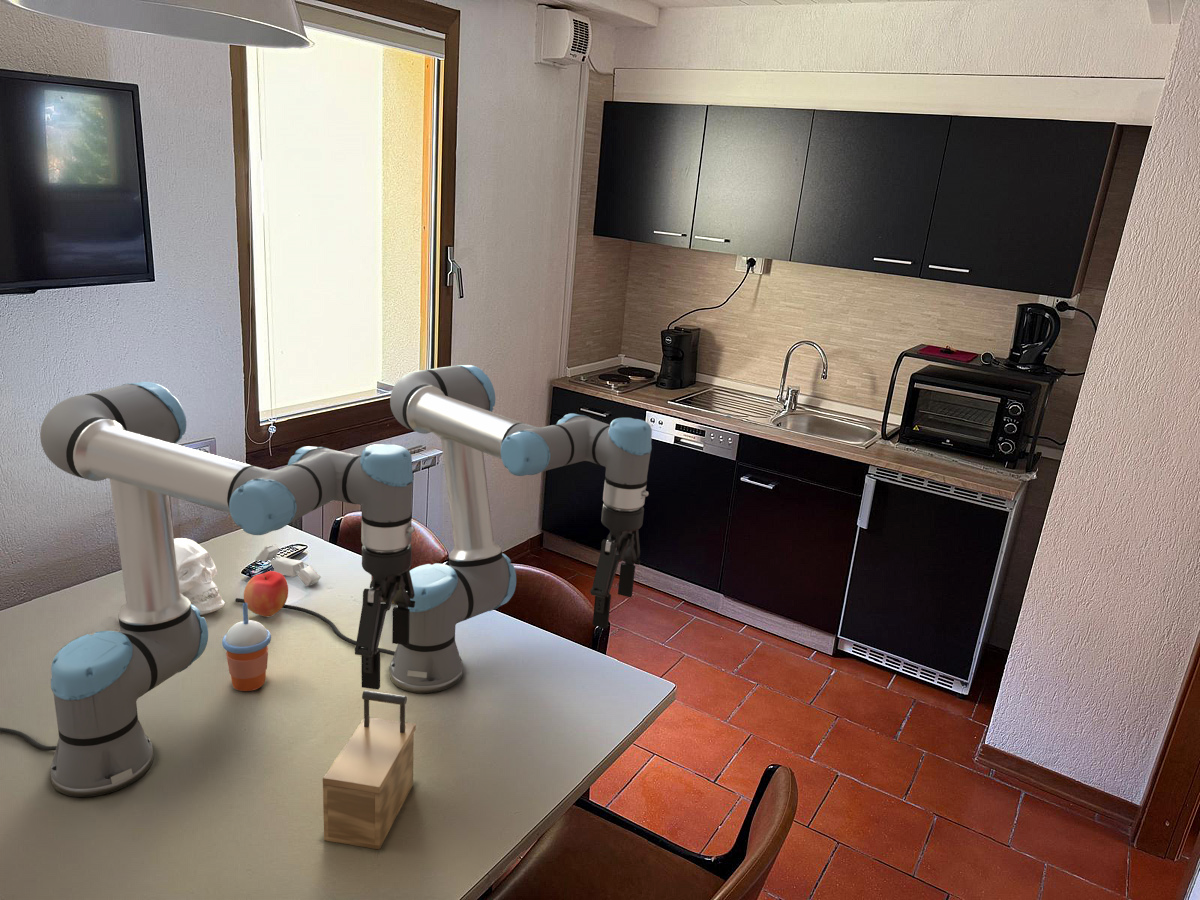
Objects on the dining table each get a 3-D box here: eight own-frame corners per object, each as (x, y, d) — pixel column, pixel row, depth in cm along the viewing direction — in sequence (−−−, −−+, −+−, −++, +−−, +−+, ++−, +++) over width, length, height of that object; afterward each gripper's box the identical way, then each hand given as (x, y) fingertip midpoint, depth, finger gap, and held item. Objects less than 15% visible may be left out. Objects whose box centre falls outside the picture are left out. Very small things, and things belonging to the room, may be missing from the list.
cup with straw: (256, 699, 169) (252, 618, 164) (214, 691, 170) (209, 610, 165) (281, 675, 177) (278, 597, 172) (242, 667, 179) (238, 590, 174)
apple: (273, 600, 207) (272, 562, 204) (297, 613, 202) (296, 575, 199) (237, 614, 200) (234, 575, 197) (261, 628, 194) (259, 588, 191)
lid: (364, 721, 148) (364, 681, 146) (415, 729, 147) (416, 689, 145) (322, 784, 132) (321, 740, 130) (379, 793, 131) (379, 749, 129)
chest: (362, 776, 150) (362, 725, 147) (413, 784, 149) (413, 733, 146) (323, 840, 135) (322, 784, 132) (379, 849, 134) (379, 793, 131)
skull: (204, 625, 194) (201, 560, 189) (125, 605, 199) (121, 542, 195) (243, 602, 206) (242, 541, 202) (168, 584, 212) (165, 524, 207)
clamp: (253, 565, 223) (254, 542, 221) (265, 560, 226) (266, 537, 224) (309, 593, 215) (310, 569, 213) (320, 588, 218) (321, 564, 216)
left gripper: (381, 581, 120) (381, 711, 126) (434, 517, 144) (432, 629, 150) (330, 575, 121) (332, 704, 127) (391, 512, 145) (391, 624, 151)
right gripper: (620, 532, 141) (608, 645, 147) (663, 488, 163) (651, 587, 170) (578, 523, 143) (568, 634, 150) (626, 480, 166) (616, 579, 172)
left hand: (386, 664), depth 139 cm, fingers open, 13 cm apart
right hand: (613, 610), depth 160 cm, fingers open, 13 cm apart
